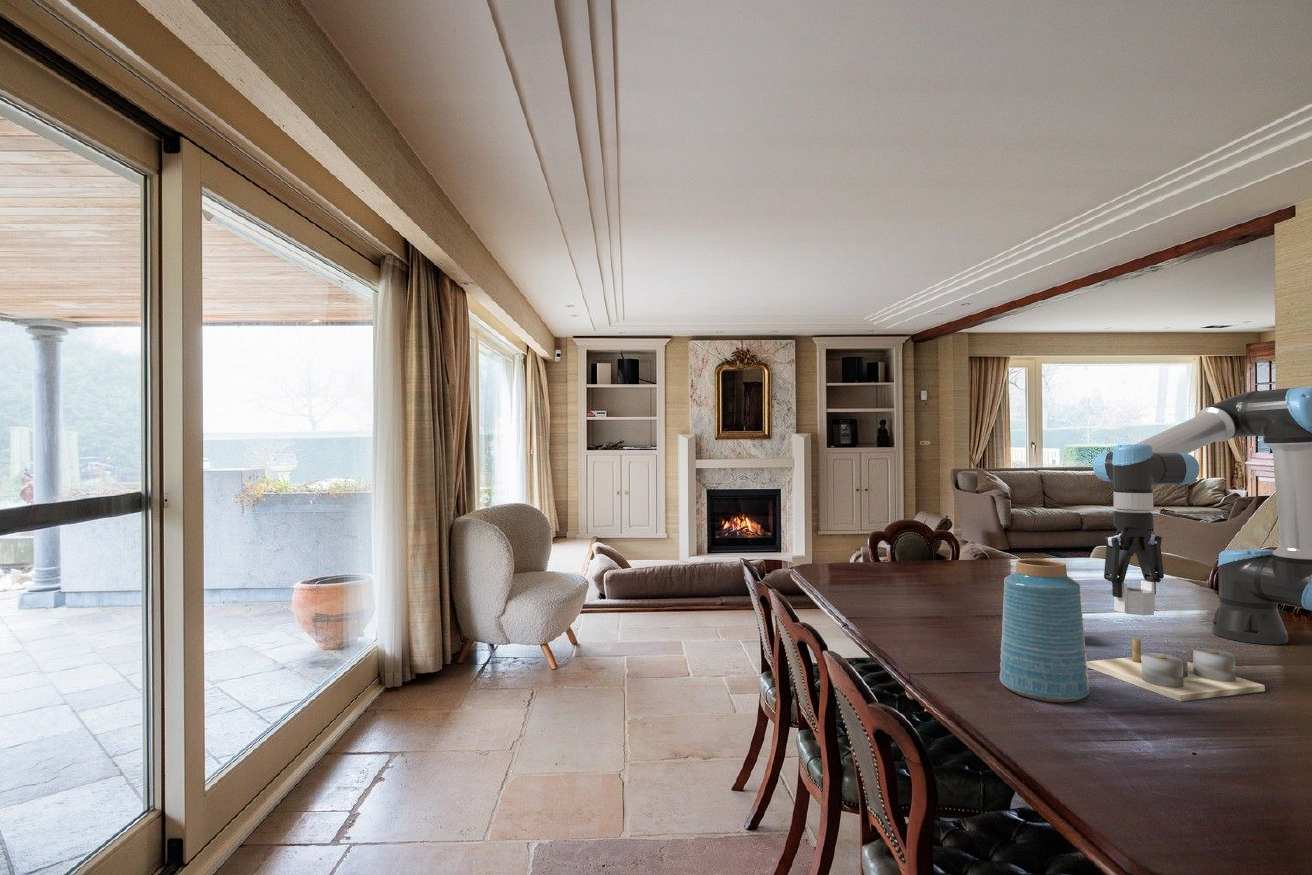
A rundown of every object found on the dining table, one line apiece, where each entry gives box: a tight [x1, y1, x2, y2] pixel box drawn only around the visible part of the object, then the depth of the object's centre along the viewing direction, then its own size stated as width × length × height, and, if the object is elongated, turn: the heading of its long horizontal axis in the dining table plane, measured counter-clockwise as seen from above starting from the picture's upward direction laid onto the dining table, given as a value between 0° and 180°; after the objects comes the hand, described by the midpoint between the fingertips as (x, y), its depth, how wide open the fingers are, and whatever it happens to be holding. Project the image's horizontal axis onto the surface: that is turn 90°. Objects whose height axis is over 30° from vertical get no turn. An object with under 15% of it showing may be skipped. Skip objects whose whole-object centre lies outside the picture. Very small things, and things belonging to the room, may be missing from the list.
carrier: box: [1087, 638, 1266, 702], centre depth 147 cm, size 22×22×6 cm
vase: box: [999, 558, 1090, 703], centre depth 141 cm, size 16×16×27 cm
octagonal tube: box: [1117, 586, 1155, 617], centre depth 155 cm, size 7×7×5 cm
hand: (1134, 610), depth 155 cm, fingers closed on octagonal tube, 7 cm apart
